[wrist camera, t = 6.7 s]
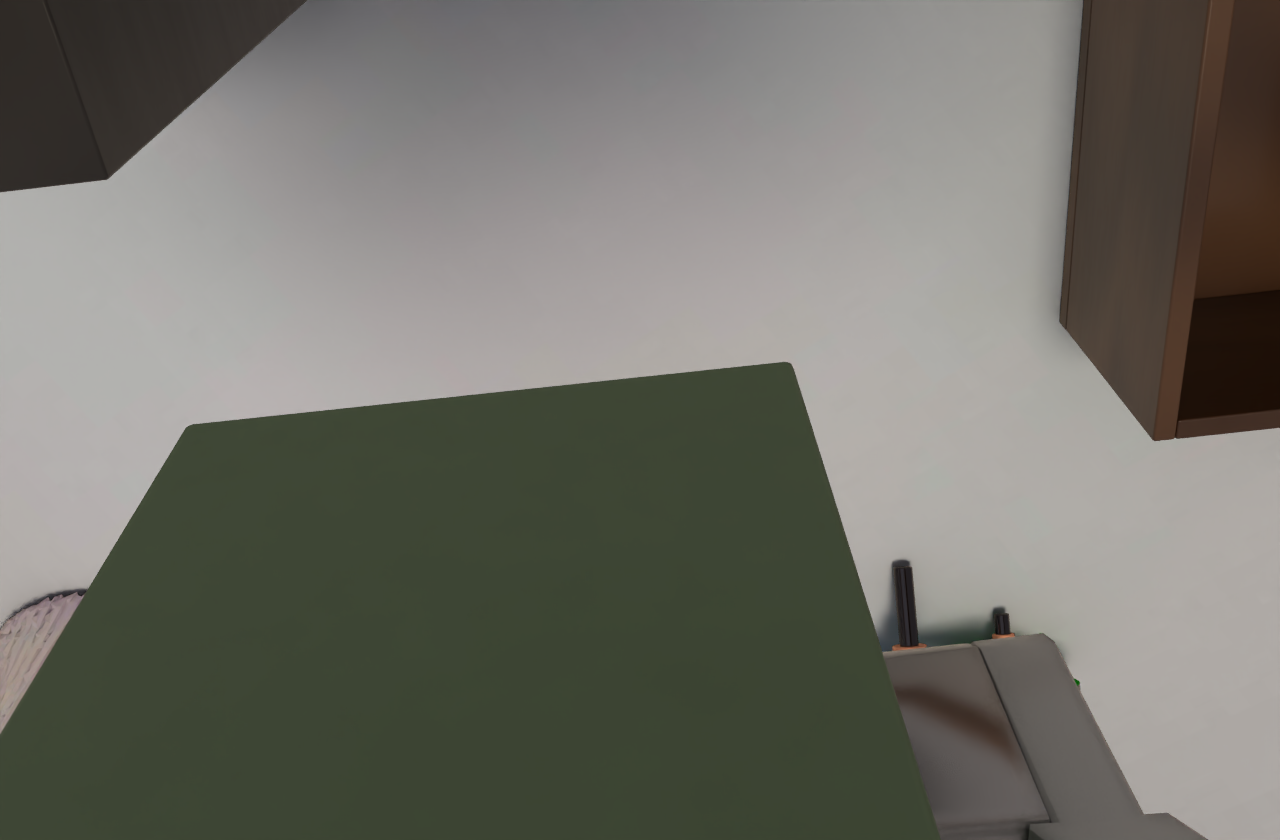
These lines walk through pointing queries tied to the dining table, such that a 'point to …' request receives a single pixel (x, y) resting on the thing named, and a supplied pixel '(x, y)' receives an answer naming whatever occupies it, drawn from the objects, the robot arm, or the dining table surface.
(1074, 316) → the chest
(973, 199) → the dining table surface
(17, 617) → the seashell
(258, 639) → the block
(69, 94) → the stand
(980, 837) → the robot arm
